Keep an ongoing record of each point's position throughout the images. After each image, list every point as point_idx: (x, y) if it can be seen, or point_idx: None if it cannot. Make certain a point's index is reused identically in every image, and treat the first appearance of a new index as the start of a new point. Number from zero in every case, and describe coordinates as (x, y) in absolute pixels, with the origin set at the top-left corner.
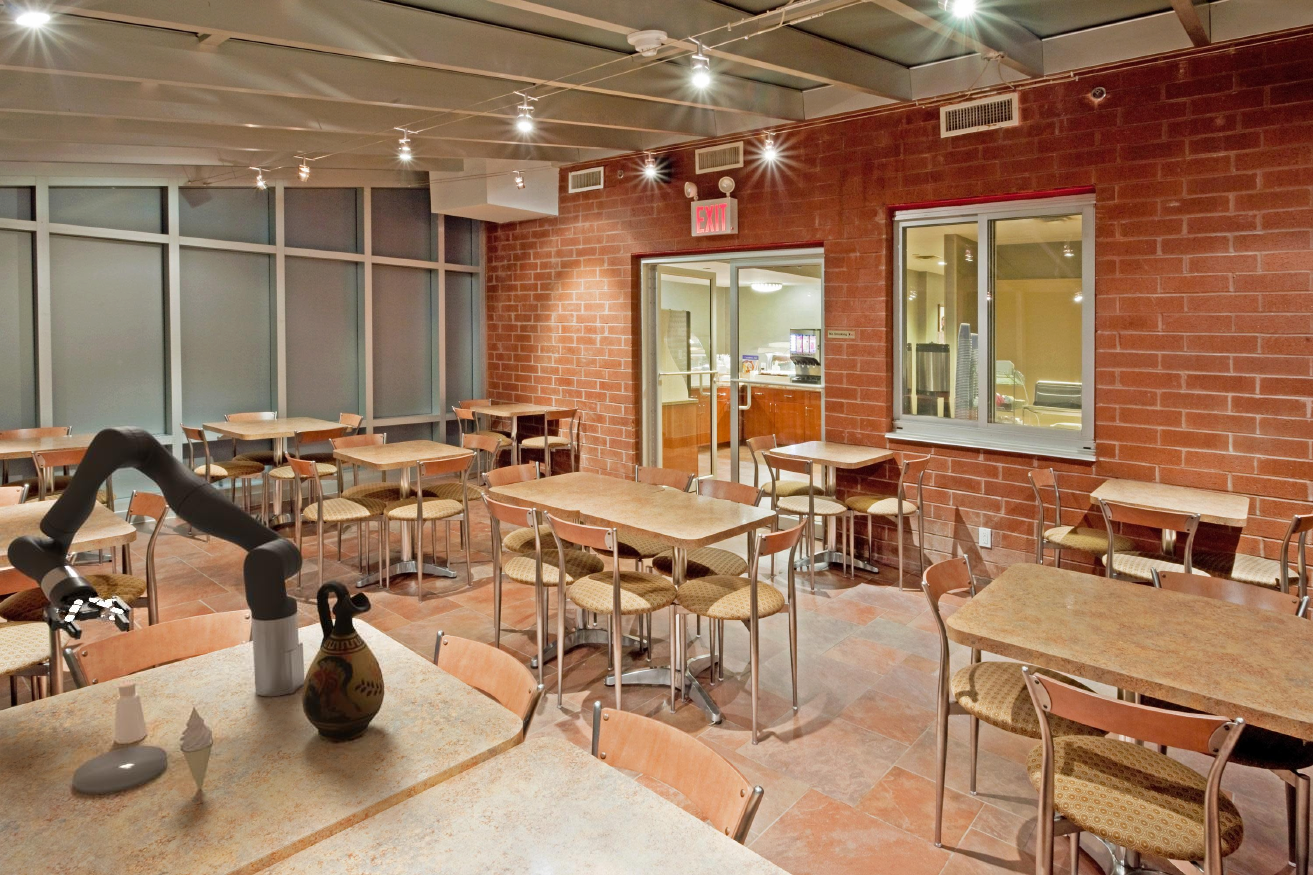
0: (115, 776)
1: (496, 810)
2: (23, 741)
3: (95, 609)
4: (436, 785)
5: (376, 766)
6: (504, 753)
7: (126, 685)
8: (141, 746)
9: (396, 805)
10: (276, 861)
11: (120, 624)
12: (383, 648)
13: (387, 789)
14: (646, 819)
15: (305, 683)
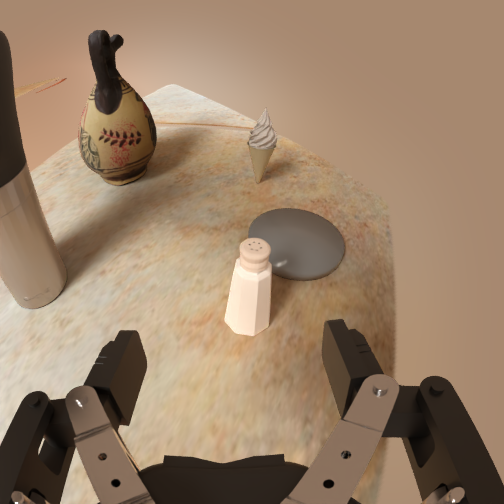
0: (309, 223)
1: (179, 108)
2: None
3: (181, 468)
4: (170, 122)
5: (165, 141)
6: None
7: (260, 240)
8: None
9: (197, 123)
10: None
11: (134, 367)
12: None
13: (186, 129)
14: (161, 93)
15: (143, 124)
